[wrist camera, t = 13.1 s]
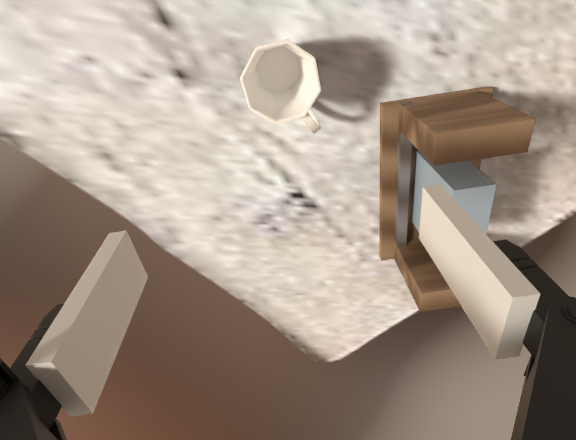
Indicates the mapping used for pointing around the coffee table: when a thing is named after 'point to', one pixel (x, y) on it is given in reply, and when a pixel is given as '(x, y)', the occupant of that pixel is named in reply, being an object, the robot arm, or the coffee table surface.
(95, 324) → the robot arm
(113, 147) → the coffee table surface
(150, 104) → the coffee table surface
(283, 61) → the cup
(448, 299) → the wooden u-shaped holder
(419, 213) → the gray rectangular block
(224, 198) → the coffee table surface
